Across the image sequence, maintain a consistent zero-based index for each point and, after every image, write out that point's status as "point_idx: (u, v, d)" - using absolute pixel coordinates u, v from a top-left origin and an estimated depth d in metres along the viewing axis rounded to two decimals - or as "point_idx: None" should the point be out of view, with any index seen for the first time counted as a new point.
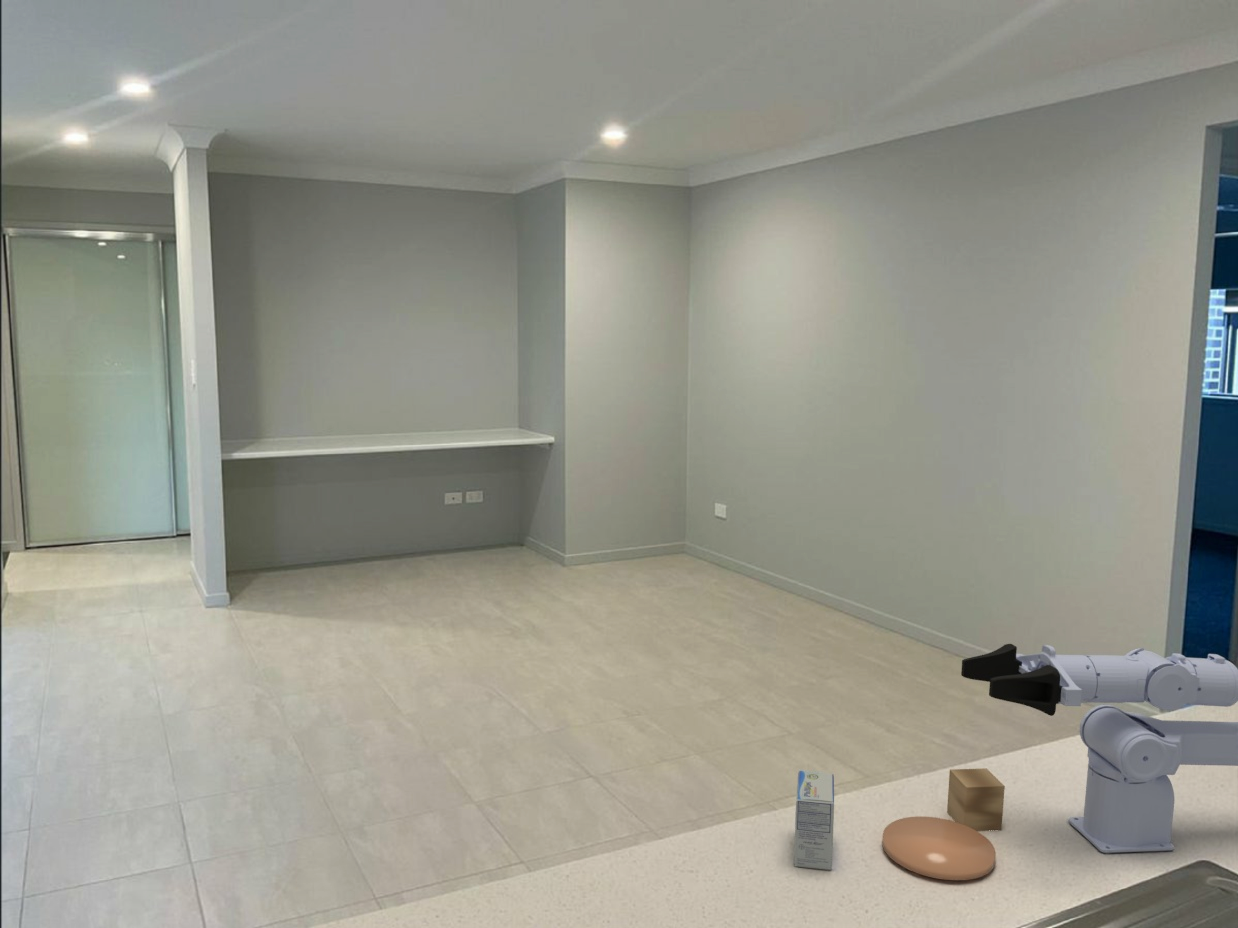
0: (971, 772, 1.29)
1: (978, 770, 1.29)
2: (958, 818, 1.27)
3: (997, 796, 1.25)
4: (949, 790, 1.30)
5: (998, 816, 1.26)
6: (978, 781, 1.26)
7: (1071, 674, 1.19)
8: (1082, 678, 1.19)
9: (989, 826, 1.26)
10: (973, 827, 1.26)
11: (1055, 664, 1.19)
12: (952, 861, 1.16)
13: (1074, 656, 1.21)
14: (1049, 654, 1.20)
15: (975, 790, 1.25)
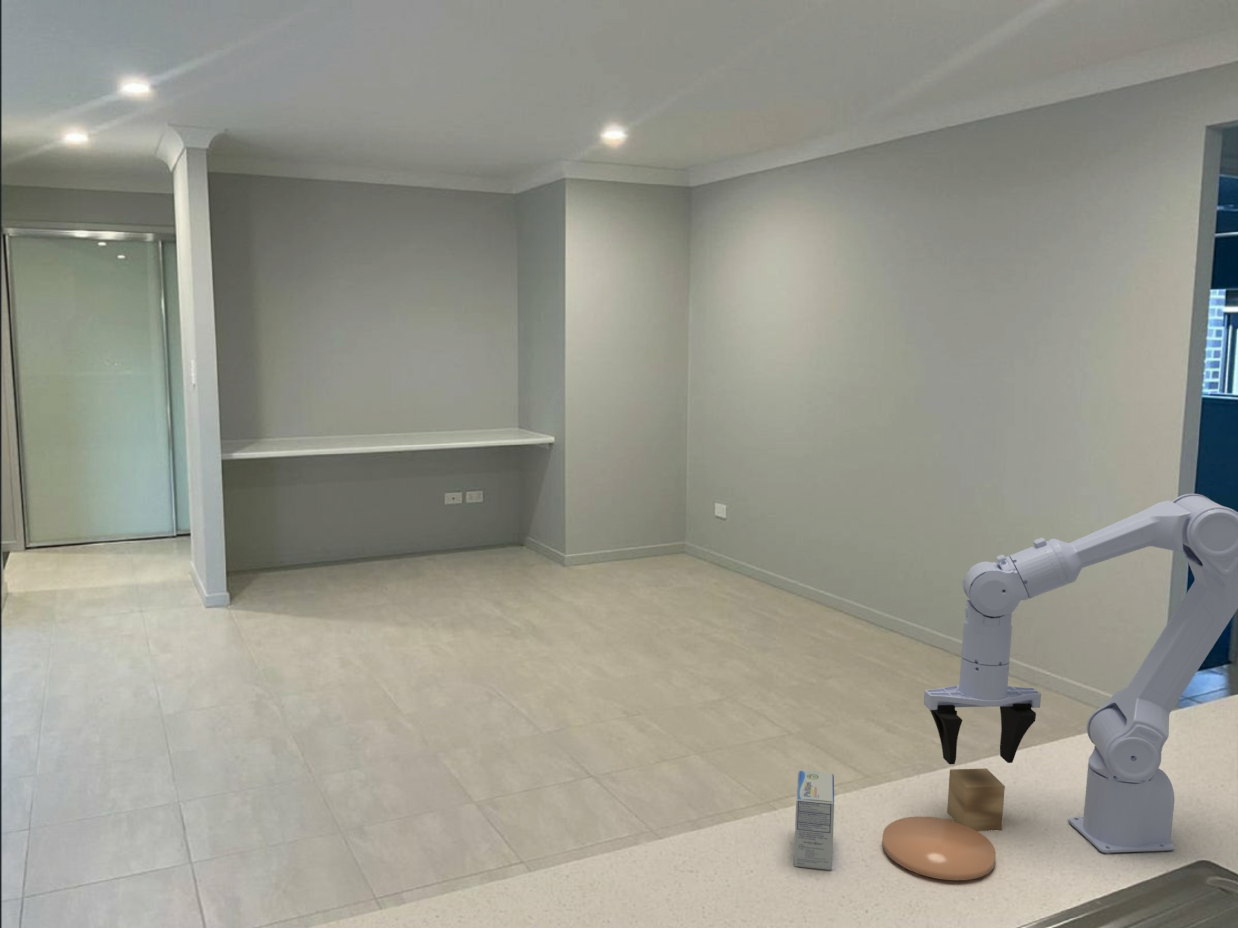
0: (971, 772, 1.29)
1: (978, 770, 1.29)
2: (958, 818, 1.27)
3: (997, 796, 1.25)
4: (949, 790, 1.30)
5: (998, 816, 1.26)
6: (978, 781, 1.26)
7: None
8: (960, 669, 1.26)
9: (989, 826, 1.26)
10: (973, 827, 1.26)
11: None
12: (952, 861, 1.16)
13: None
14: None
15: (976, 790, 1.25)
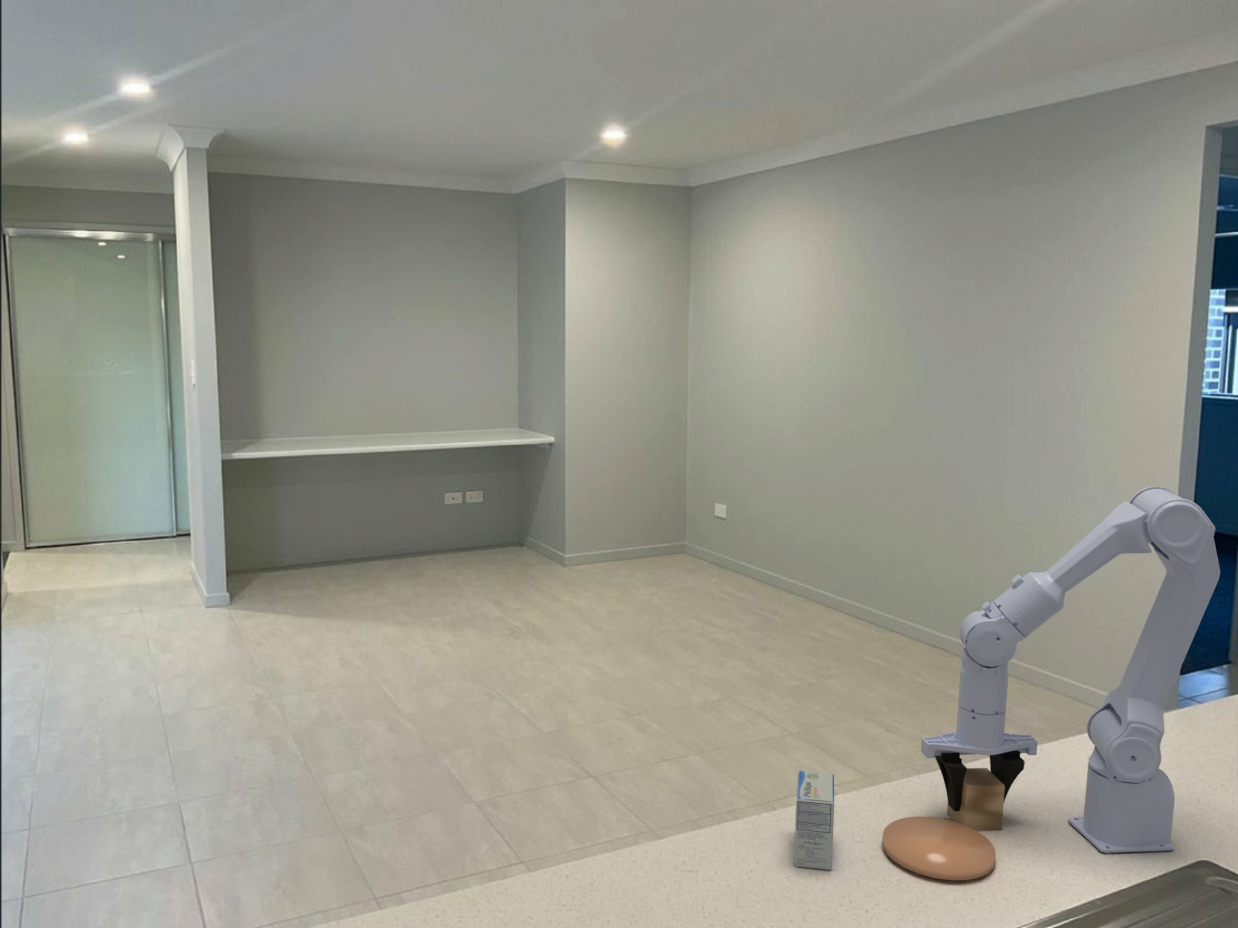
0: (971, 771, 1.29)
1: (978, 770, 1.29)
2: (958, 817, 1.27)
3: (997, 795, 1.25)
4: None
5: (998, 816, 1.26)
6: (978, 781, 1.26)
7: None
8: (957, 717, 1.27)
9: (989, 825, 1.26)
10: (973, 826, 1.26)
11: (954, 736, 1.29)
12: (952, 861, 1.16)
13: None
14: None
15: (976, 790, 1.25)
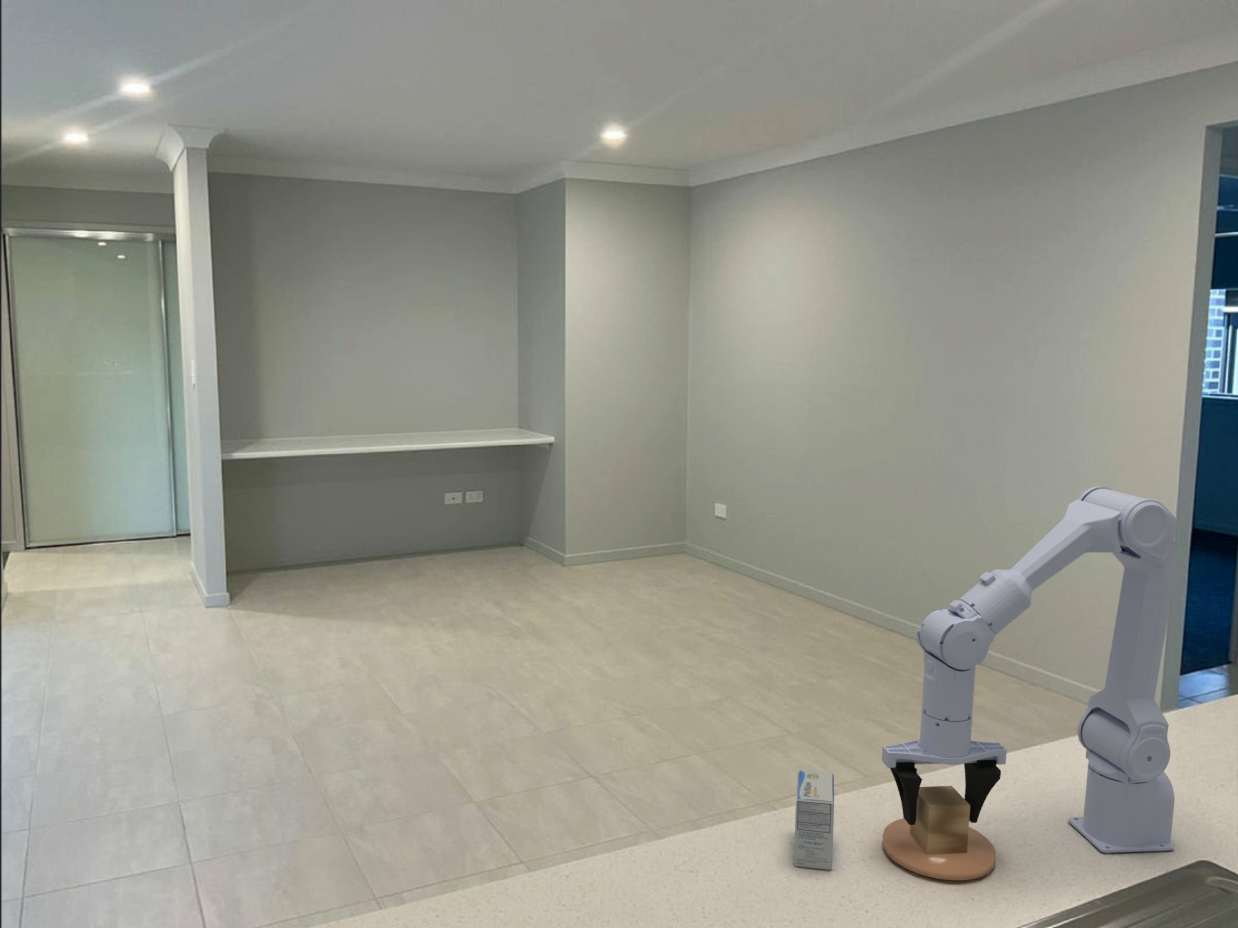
0: (935, 790, 1.21)
1: (943, 788, 1.21)
2: (921, 839, 1.19)
3: (962, 816, 1.17)
4: None
5: (963, 837, 1.18)
6: (942, 800, 1.18)
7: (920, 732, 1.19)
8: (921, 723, 1.18)
9: (953, 848, 1.18)
10: (937, 849, 1.17)
11: None
12: (952, 861, 1.16)
13: None
14: None
15: (939, 810, 1.17)
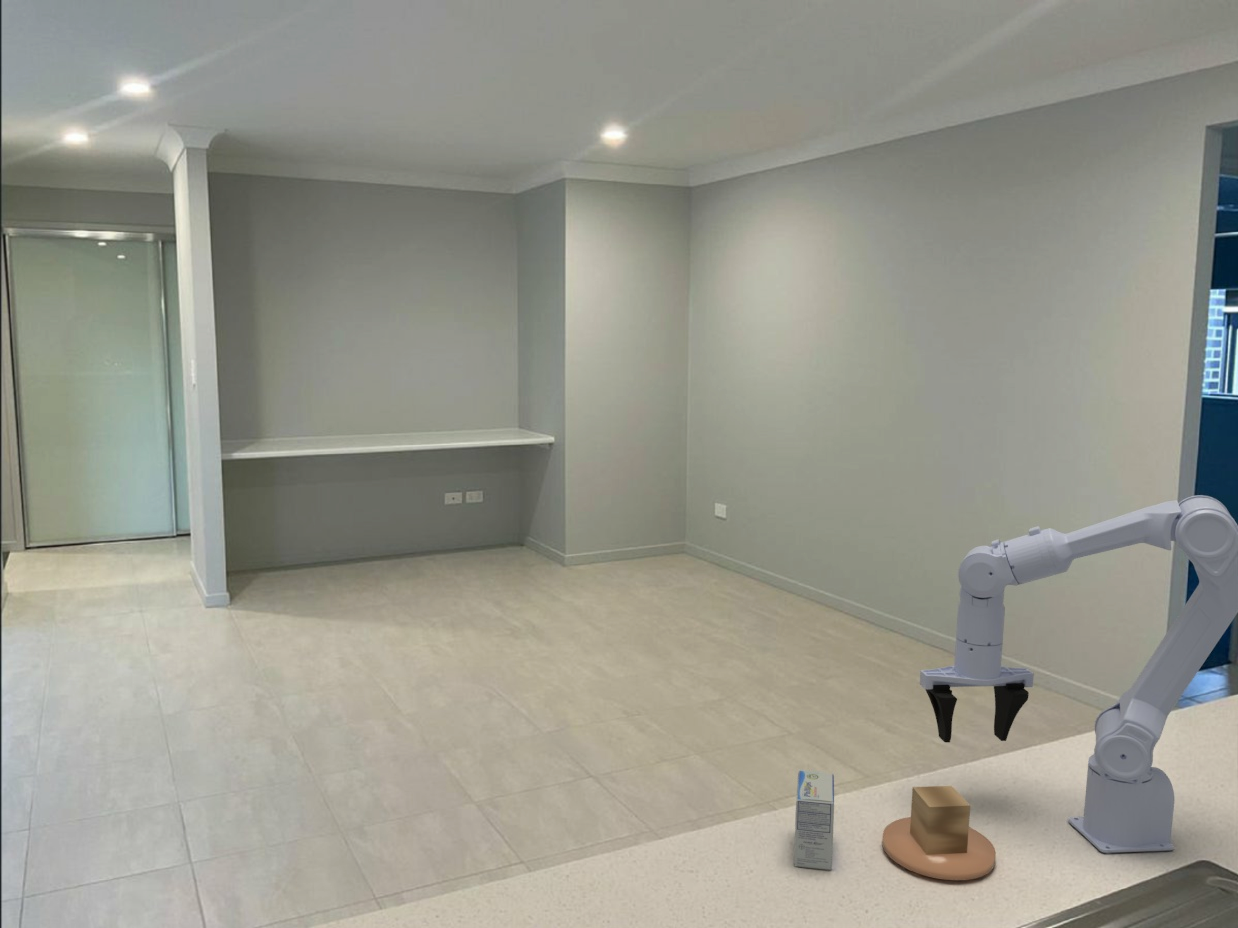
0: (935, 790, 1.21)
1: (943, 788, 1.21)
2: (921, 839, 1.19)
3: (962, 816, 1.17)
4: (912, 809, 1.22)
5: (963, 837, 1.18)
6: (942, 800, 1.18)
7: None
8: (955, 650, 1.30)
9: (953, 848, 1.18)
10: (937, 849, 1.17)
11: (952, 669, 1.32)
12: (952, 861, 1.16)
13: None
14: None
15: (939, 810, 1.17)
